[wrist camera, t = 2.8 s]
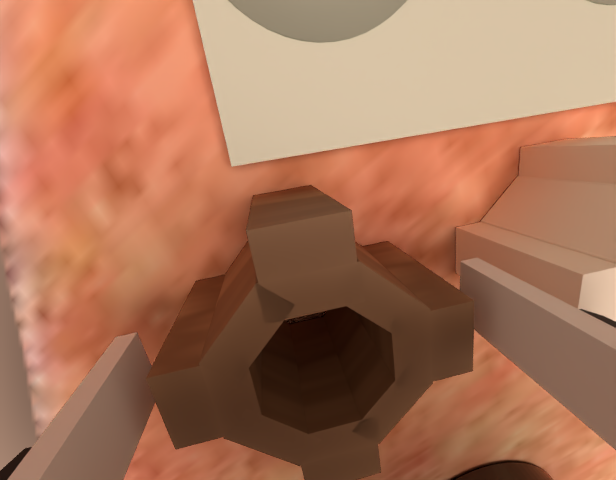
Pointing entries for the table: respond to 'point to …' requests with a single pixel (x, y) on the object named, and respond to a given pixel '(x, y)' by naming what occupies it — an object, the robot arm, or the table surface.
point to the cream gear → (555, 224)
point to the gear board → (397, 67)
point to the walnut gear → (309, 341)
